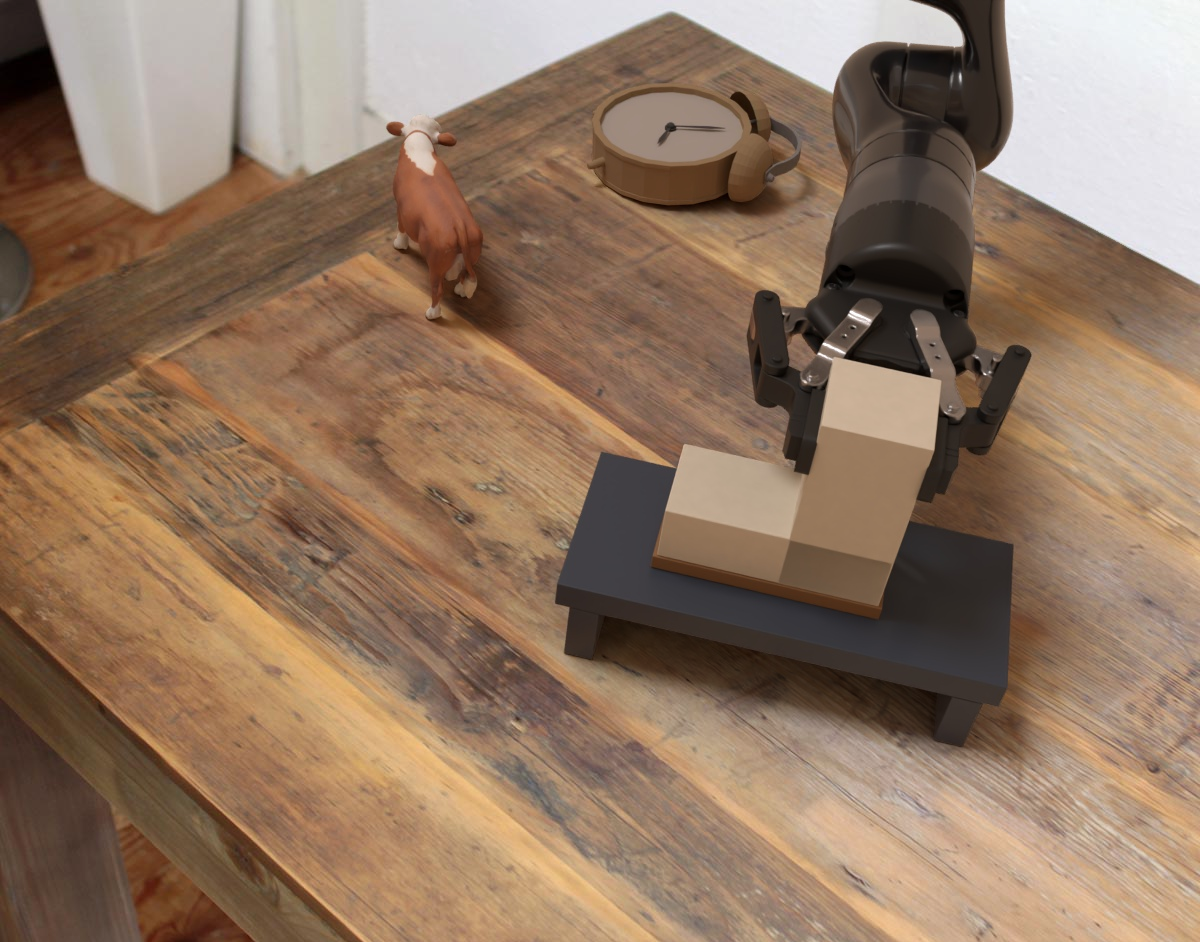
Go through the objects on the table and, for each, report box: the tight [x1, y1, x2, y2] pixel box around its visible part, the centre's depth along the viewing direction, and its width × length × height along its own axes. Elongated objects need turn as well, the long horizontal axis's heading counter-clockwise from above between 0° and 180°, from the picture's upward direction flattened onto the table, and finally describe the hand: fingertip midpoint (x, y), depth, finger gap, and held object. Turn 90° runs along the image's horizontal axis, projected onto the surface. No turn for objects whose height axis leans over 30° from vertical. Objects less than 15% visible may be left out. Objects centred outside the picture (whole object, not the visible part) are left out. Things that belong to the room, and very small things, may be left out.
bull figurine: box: [385, 114, 484, 320], centre depth 93 cm, size 4×13×8 cm, turn 16°
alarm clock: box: [586, 82, 803, 206], centre depth 106 cm, size 11×5×15 cm
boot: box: [651, 357, 942, 620], centre depth 70 cm, size 11×5×11 cm, turn 77°
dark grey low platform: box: [554, 451, 1014, 748], centre depth 76 cm, size 22×10×5 cm, turn 77°
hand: (867, 473), depth 66 cm, fingers closed on boot, 5 cm apart
